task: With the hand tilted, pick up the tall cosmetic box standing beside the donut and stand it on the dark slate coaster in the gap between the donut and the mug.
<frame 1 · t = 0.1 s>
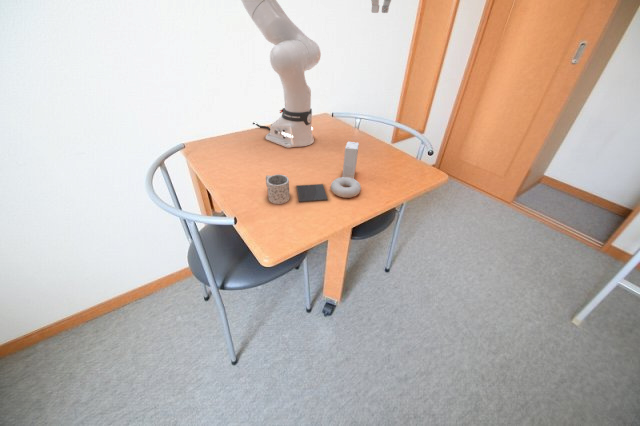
hand: (379, 12, 83), 48 cm above the table, tool pointing down, fingers open, 8 cm apart
mug: (276, 196, 87), on the table
slate coaster: (311, 193, 89), on the table
donut: (345, 191, 91), on the table
cosmetic box: (348, 176, 99), on the table
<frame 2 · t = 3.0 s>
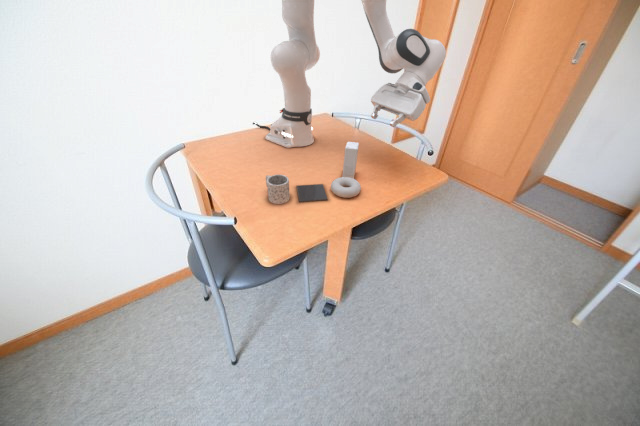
hand: (381, 121, 93), 18 cm above the table, tool tilted 45°, fingers open, 8 cm apart
nothing on the table moved.
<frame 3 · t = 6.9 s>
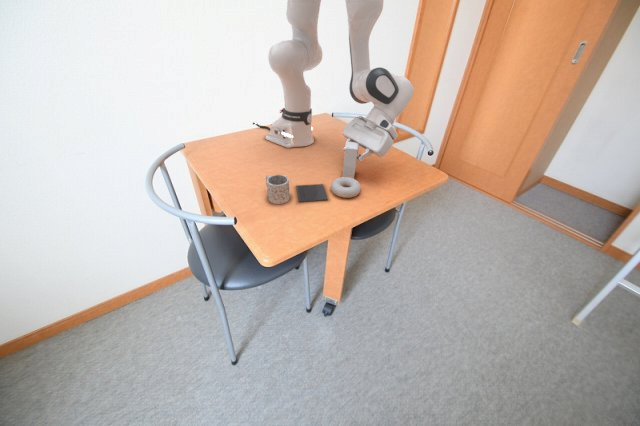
hand: (351, 155, 94), 8 cm above the table, tool tilted 45°, fingers closed on cosmetic box, 6 cm apart
cosmetic box: (348, 176, 99), on the table, touching gripper
everything else where it was.
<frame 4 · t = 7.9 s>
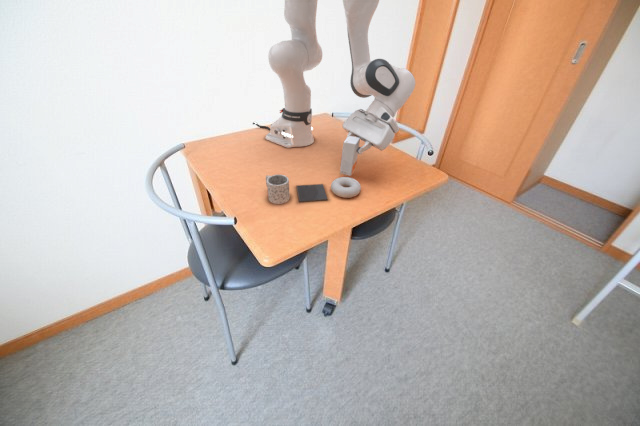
hand: (352, 149, 93), 10 cm above the table, tool tilted 45°, fingers closed on cosmetic box, 5 cm apart
cosmetic box: (347, 171, 97), point 2 cm above the table, touching gripper
everything else where it was.
when the fingers open (9 cm above the table, at t = 16.0 s): cosmetic box stays where it is, resting on slate coaster.
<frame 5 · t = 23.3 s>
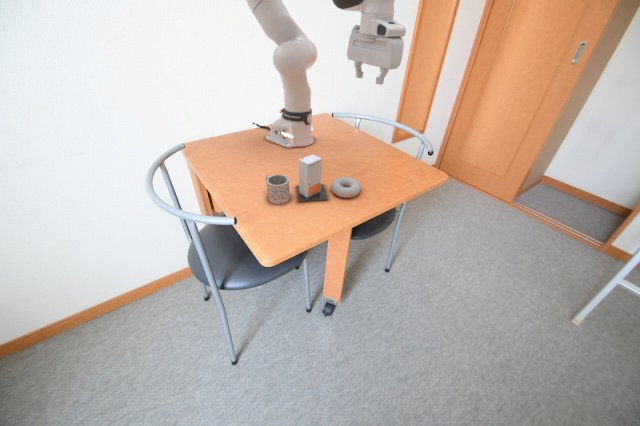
hand: (368, 80, 84), 31 cm above the table, tool pointing down, fingers open, 8 cm apart
cosmetic box: (310, 192, 88), resting on slate coaster
everything else where it was.
at the end: cosmetic box 0.6 cm off-centre on the slate coaster, point 0.4 cm above the slate coaster's base; cosmetic box tilted 0°; the gripper is holding nothing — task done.
